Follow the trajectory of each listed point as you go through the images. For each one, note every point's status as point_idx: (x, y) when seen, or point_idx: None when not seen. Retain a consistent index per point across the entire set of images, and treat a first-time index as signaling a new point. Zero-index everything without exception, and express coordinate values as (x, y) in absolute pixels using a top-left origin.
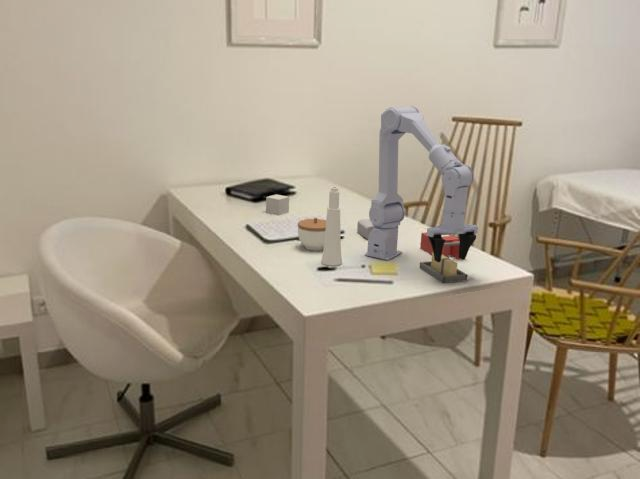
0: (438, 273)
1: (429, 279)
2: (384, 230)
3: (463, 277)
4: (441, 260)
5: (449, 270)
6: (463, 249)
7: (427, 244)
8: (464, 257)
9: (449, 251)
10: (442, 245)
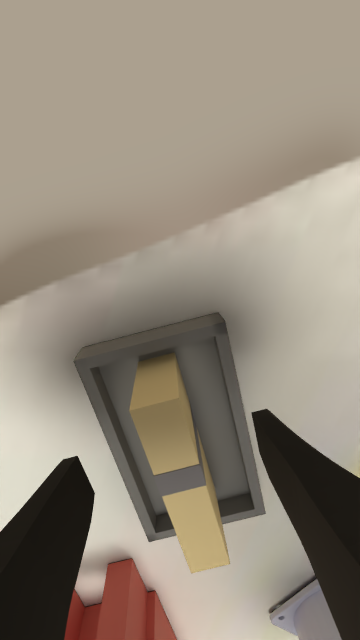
0: (231, 380)
1: (266, 361)
2: None
3: (101, 348)
4: (204, 476)
5: (178, 380)
6: (50, 541)
7: None
8: (62, 468)
9: (100, 614)
10: (339, 517)
